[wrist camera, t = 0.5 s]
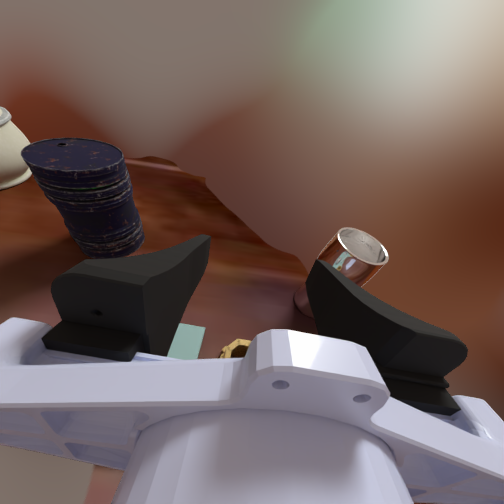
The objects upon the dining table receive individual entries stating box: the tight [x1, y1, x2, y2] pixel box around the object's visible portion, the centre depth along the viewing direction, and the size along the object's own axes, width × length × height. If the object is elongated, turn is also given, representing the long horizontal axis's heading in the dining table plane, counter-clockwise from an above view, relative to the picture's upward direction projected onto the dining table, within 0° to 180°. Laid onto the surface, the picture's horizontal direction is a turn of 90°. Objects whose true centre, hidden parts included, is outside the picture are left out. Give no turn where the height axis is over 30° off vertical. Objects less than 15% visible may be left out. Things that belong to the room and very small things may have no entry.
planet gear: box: [220, 339, 251, 358], centre depth 22 cm, size 5×5×5 cm
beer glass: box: [294, 227, 389, 318], centre depth 28 cm, size 7×7×15 cm
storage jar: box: [21, 138, 145, 259], centre depth 28 cm, size 10×10×15 cm
